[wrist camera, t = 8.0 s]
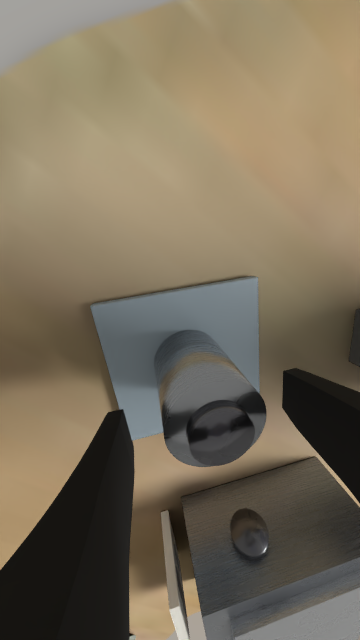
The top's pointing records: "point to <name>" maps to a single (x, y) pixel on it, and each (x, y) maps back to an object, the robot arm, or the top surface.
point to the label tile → (174, 579)
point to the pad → (165, 320)
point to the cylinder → (205, 401)
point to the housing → (277, 556)
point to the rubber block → (355, 341)
